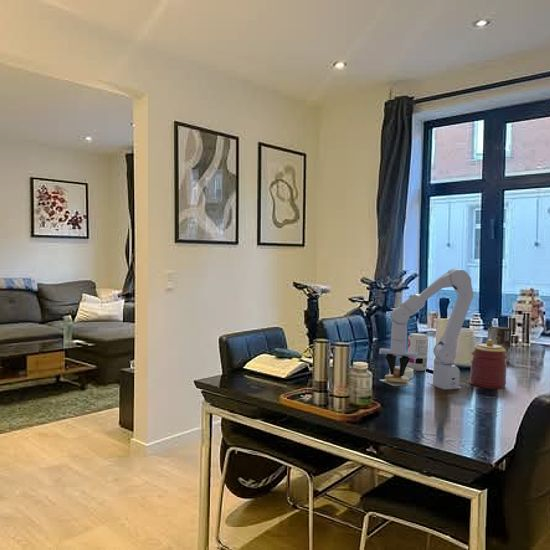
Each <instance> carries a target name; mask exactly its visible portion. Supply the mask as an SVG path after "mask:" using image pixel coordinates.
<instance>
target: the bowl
mask: <svg viewBox="0 0 550 550" xmlns="http://www.w3.org/2000/svg"><path fill="white" fill-rule="evenodd" d="M395 368H400V365H395ZM414 372H415V370H414V369H412V368H409V367H407V366H406V369H405V372H404V376H407V377H409V380H411V379H413V378H414V374H415V373H414ZM389 374H391V373H390V368H389V369H388V375H389Z"/></svg>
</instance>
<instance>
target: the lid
mask: <svg viewBox="0 0 550 550" xmlns="http://www.w3.org/2000/svg"><path fill="white" fill-rule="evenodd" d="M384 379H386V380H389V381H393V382H410V379H409V377H407V376H400V368H393V375H391V374H389V373H388V374H385V375H384Z"/></svg>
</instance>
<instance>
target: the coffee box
mask: <svg viewBox="0 0 550 550" xmlns="http://www.w3.org/2000/svg"><path fill="white" fill-rule="evenodd" d="M511 334H512V328H510V327H507V326H491V325H490V326H487V340H489V339H491V340H493V342H494V345H499V346H502V348H504V349H505V350H506V351H505V352H504V353H505V354H506V355H507V356H508V358H507V359H506V363H510V360H511V358H510V355H511V336H512V335H511ZM487 340H486V341H487Z"/></svg>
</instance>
